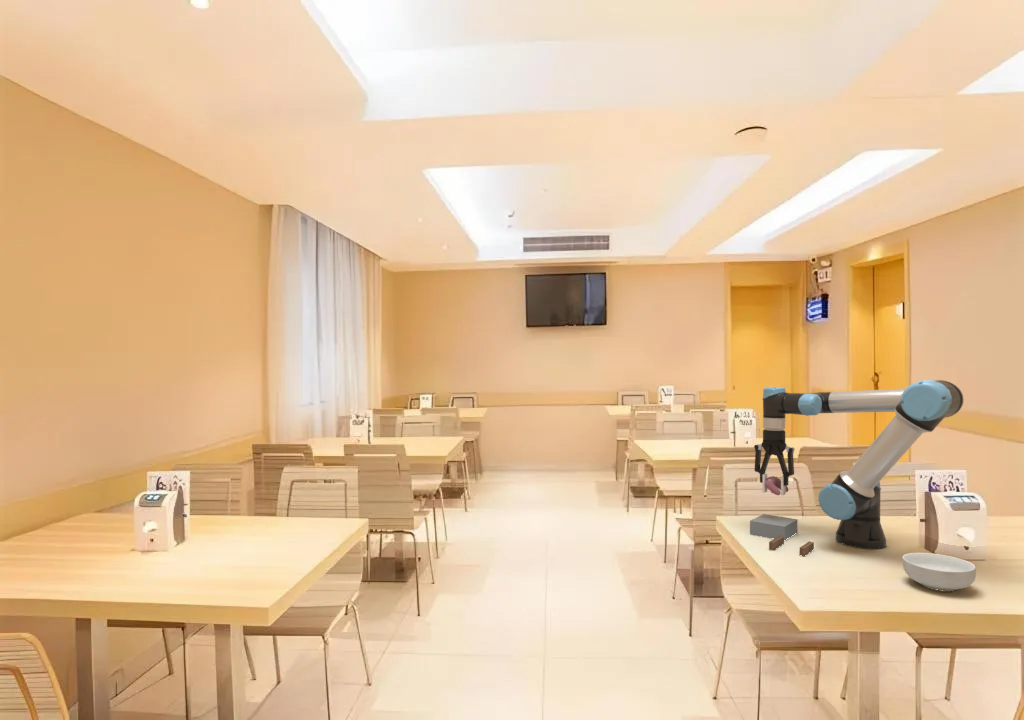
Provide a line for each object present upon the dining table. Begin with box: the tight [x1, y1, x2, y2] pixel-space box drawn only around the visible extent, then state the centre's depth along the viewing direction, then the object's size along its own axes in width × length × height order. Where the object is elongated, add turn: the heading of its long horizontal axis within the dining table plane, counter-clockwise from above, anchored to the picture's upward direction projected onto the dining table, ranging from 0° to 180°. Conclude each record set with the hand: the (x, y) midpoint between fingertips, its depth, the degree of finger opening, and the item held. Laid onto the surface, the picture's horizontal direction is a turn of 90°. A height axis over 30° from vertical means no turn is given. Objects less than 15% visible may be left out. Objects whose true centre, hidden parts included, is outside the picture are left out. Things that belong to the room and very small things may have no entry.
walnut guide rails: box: [768, 536, 815, 557], centre depth 201 cm, size 11×10×2 cm
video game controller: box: [765, 476, 789, 496], centre depth 222 cm, size 10×5×7 cm, turn 138°
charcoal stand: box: [749, 513, 799, 541], centre depth 220 cm, size 12×14×5 cm
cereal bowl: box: [901, 552, 977, 592], centre depth 168 cm, size 17×17×7 cm
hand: (774, 493), depth 220 cm, fingers closed on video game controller, 6 cm apart
